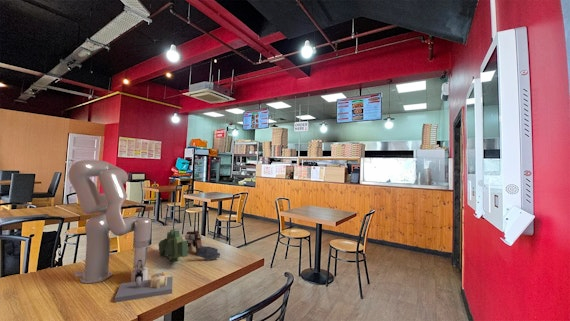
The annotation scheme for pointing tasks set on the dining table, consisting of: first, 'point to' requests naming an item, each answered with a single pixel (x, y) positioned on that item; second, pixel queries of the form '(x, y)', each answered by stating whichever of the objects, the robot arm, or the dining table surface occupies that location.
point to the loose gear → (145, 272)
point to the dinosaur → (173, 246)
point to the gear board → (145, 288)
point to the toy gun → (194, 239)
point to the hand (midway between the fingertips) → (139, 277)
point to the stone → (208, 253)
